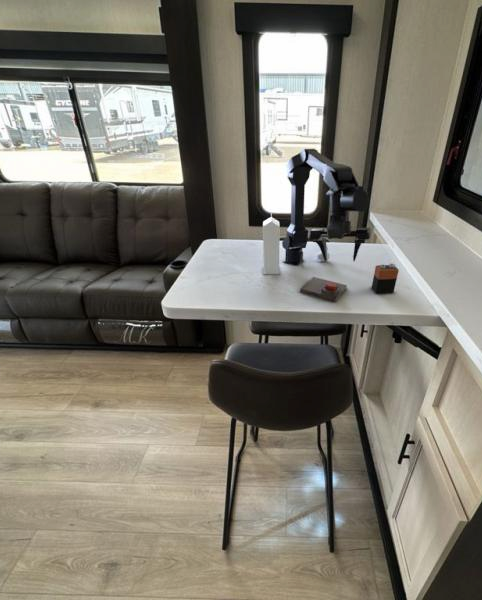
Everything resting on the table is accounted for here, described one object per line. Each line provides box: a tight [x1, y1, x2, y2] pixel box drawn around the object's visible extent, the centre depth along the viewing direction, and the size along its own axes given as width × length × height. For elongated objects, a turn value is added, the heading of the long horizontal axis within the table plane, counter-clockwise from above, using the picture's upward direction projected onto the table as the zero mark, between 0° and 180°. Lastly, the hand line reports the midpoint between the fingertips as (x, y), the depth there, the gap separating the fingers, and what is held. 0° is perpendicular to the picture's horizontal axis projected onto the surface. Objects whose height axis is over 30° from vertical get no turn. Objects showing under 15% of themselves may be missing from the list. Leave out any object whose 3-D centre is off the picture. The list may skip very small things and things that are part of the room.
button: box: [325, 281, 337, 290], centre depth 102 cm, size 4×4×2 cm
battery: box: [371, 263, 399, 295], centre depth 106 cm, size 4×7×10 cm, turn 99°
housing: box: [299, 276, 348, 303], centre depth 106 cm, size 13×12×4 cm
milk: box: [262, 214, 281, 275], centre depth 114 cm, size 6×6×22 cm
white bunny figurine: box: [316, 244, 331, 263], centre depth 129 cm, size 5×7×8 cm
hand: (339, 260), depth 99 cm, fingers open, 9 cm apart
